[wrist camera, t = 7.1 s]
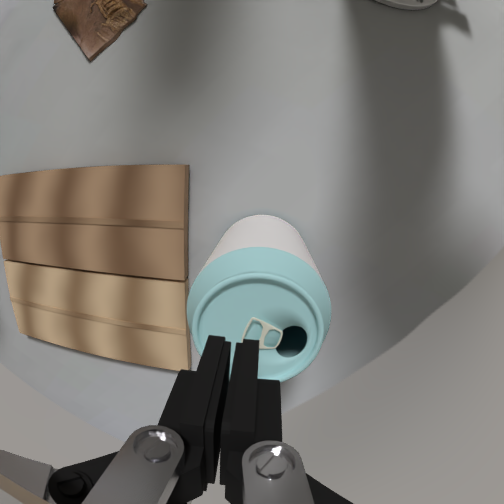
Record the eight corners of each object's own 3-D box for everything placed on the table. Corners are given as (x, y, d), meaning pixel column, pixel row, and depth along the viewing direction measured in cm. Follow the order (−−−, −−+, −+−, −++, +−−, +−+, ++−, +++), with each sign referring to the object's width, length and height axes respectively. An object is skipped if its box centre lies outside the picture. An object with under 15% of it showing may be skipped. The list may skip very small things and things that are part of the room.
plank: (189, 164, 22) (184, 165, 21) (188, 274, 25) (184, 280, 24) (2, 175, 23) (-6, 176, 21) (9, 255, 25) (2, 259, 24)
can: (289, 200, 23) (313, 233, 11) (316, 282, 24) (352, 372, 13) (204, 231, 24) (150, 289, 12) (236, 308, 25) (215, 407, 14)
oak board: (188, 278, 25) (184, 284, 24) (191, 364, 27) (188, 372, 26) (10, 258, 26) (3, 261, 24) (25, 328, 28) (19, 332, 27)
